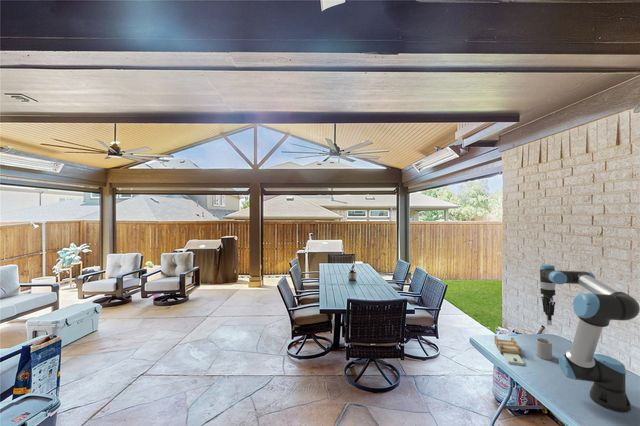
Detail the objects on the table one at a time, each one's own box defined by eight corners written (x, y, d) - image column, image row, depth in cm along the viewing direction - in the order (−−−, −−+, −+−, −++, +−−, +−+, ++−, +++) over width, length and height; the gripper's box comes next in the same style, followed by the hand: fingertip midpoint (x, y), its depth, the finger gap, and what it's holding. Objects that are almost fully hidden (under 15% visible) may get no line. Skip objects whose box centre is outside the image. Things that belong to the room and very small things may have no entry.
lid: (524, 366, 182) (524, 361, 182) (508, 364, 185) (508, 359, 185) (518, 357, 193) (518, 352, 193) (503, 355, 196) (503, 350, 196)
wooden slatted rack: (520, 356, 193) (520, 348, 193) (500, 354, 197) (500, 345, 197) (513, 345, 208) (513, 337, 208) (494, 343, 212) (494, 335, 212)
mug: (554, 360, 186) (554, 344, 186) (539, 358, 189) (539, 342, 189) (546, 352, 198) (546, 336, 198) (532, 350, 201) (532, 335, 200)
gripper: (560, 291, 173) (561, 329, 173) (549, 286, 186) (550, 321, 186) (545, 290, 176) (547, 328, 175) (536, 285, 188) (537, 320, 188)
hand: (548, 324), depth 180 cm, fingers closed
